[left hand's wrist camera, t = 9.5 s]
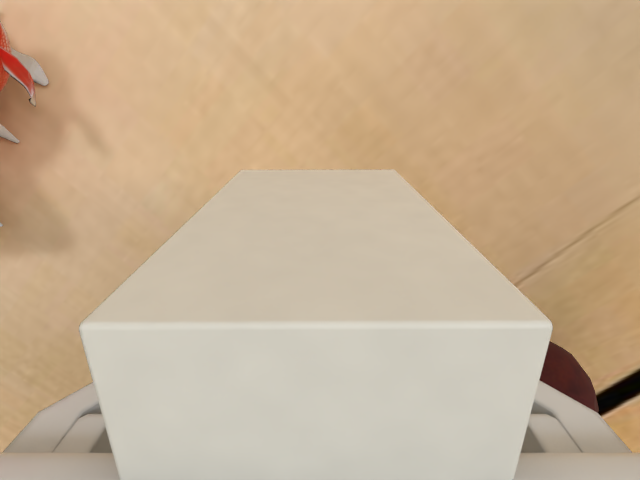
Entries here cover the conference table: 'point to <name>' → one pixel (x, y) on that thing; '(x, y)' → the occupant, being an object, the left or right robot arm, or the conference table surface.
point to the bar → (316, 341)
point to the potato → (568, 376)
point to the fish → (18, 74)
